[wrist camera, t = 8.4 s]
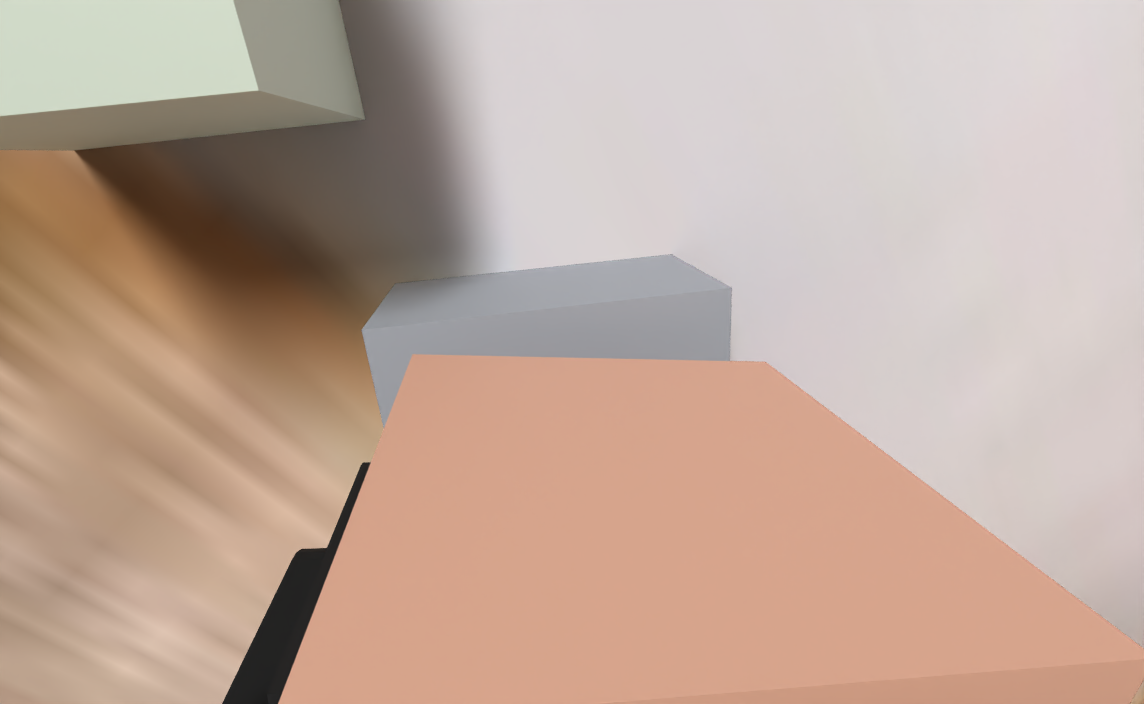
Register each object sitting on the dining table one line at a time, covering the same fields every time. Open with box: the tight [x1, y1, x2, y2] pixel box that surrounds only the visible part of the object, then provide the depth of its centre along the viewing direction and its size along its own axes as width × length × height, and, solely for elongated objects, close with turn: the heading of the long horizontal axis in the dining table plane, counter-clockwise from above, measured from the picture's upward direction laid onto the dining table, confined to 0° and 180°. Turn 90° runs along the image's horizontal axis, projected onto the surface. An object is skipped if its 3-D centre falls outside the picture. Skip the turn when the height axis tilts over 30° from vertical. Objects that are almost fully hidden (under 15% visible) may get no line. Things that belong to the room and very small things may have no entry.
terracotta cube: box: [278, 354, 1144, 704], centre depth 7 cm, size 6×6×6 cm
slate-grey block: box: [362, 254, 732, 427], centre depth 13 cm, size 7×7×4 cm
